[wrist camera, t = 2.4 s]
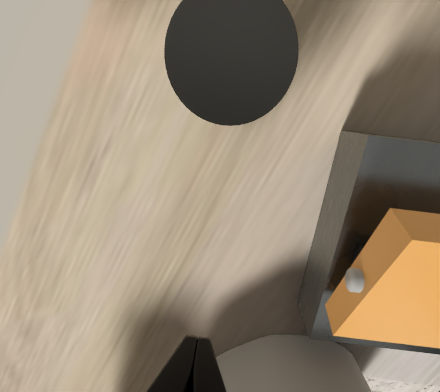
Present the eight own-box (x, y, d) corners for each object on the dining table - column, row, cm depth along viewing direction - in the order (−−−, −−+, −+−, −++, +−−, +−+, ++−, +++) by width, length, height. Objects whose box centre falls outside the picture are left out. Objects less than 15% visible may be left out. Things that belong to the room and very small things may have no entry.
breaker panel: (533, 154, 15) (649, 169, 11) (450, 321, 18) (512, 380, 14) (341, 130, 15) (384, 137, 11) (297, 303, 18) (315, 357, 14)
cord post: (261, 67, 14) (334, -35, 4) (252, 125, 15) (296, 150, 5) (205, 60, 14) (150, -58, 4) (200, 119, 15) (145, 131, 5)
